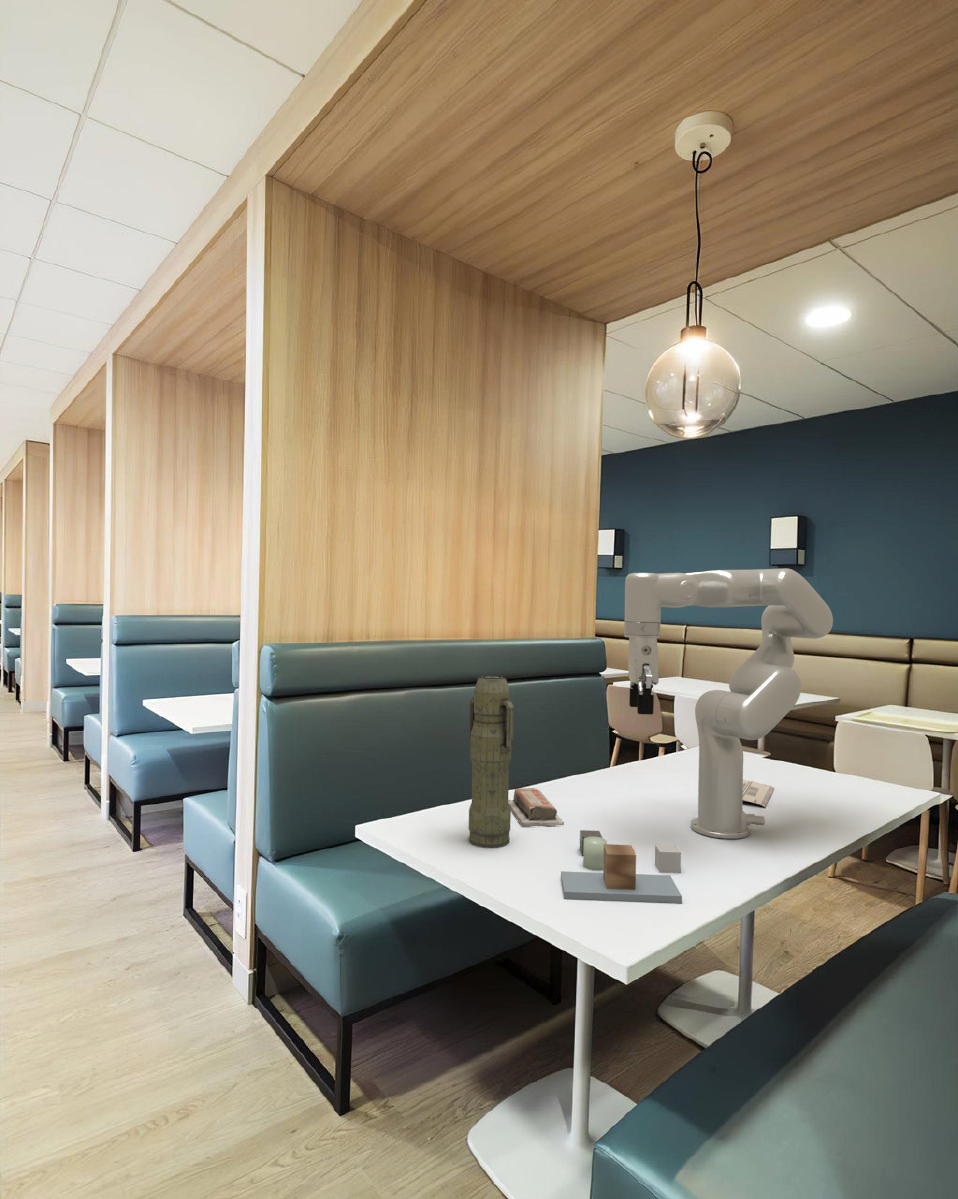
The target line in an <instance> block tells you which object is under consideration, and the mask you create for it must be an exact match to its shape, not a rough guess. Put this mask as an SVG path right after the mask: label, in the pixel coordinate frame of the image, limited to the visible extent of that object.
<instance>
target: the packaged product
mask: <svg viewBox="0 0 958 1199" xmlns="http://www.w3.org/2000/svg"><path fill="white" fill-rule="evenodd" d="M513 793H514V794H513V800H511V799H508V803H509V806H510V809H511V811H512V812H511V813H512V815H513V816H514V818H515V819H516V821H517V820H518V821H517V822H518V823H519V825H520V824H521V825H522V826H521V825H520V826H521V828H531V827H530V826H546V827H556V826H555V825H564V824H565V821H563V820H562V818H560V816H559V815H558V811H557V809H556V808H555V806H554V805H553V803H551V802H550V801H549V800H548V798H547V797H546V796H545V795H544V794H543V793H542V791H541V790H539V789H537V788H535V787H532V788H530V787H529V788H526V787H525V788H516V789H514V792H513Z"/></svg>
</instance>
